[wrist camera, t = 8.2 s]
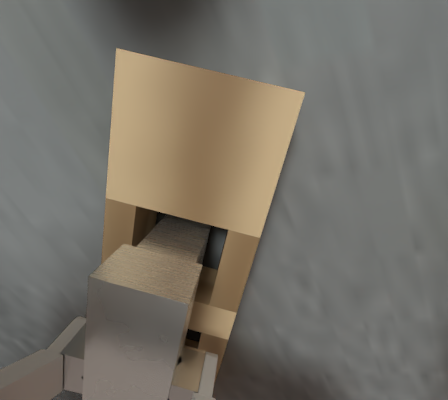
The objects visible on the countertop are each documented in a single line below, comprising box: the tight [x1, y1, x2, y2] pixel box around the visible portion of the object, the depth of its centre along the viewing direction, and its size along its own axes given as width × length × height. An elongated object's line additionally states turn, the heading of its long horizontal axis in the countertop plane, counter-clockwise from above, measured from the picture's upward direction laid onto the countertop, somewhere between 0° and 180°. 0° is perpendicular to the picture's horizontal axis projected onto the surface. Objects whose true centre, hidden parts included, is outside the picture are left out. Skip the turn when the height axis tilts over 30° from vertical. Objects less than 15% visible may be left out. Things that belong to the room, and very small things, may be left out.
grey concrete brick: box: [82, 214, 211, 400], centre depth 11 cm, size 3×9×6 cm, turn 167°
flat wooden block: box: [101, 48, 305, 384], centre depth 14 cm, size 7×22×3 cm, turn 167°
